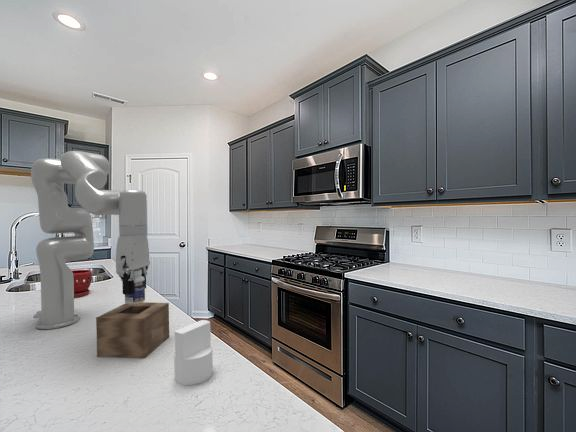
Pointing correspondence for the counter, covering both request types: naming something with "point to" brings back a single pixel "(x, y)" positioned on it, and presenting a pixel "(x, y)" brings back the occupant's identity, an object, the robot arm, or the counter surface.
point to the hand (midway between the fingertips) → (134, 290)
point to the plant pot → (81, 282)
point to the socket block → (132, 330)
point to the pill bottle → (137, 289)
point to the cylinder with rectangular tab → (193, 353)
